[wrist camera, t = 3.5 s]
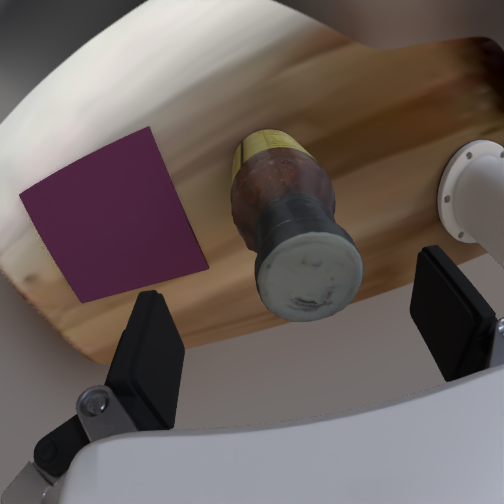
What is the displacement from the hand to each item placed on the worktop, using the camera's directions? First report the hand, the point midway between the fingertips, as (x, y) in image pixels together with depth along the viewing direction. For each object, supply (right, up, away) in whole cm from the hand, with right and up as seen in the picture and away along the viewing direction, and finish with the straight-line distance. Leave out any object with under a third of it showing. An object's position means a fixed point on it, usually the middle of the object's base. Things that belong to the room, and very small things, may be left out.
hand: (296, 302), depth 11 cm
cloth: (-17, +4, +21) cm, 27 cm away
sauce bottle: (0, +10, +18) cm, 21 cm away
